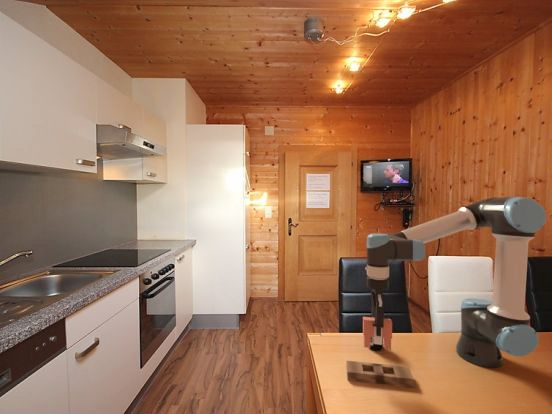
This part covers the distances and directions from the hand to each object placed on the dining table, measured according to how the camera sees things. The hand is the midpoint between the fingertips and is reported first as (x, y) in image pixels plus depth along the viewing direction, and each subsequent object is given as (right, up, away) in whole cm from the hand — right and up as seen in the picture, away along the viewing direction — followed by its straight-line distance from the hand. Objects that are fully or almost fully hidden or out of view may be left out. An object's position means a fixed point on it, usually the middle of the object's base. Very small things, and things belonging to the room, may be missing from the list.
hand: (377, 341), depth 98 cm
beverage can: (+7, -13, +20) cm, 25 cm away
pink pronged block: (0, -2, 0) cm, 2 cm away
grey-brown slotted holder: (0, -13, 0) cm, 13 cm away
